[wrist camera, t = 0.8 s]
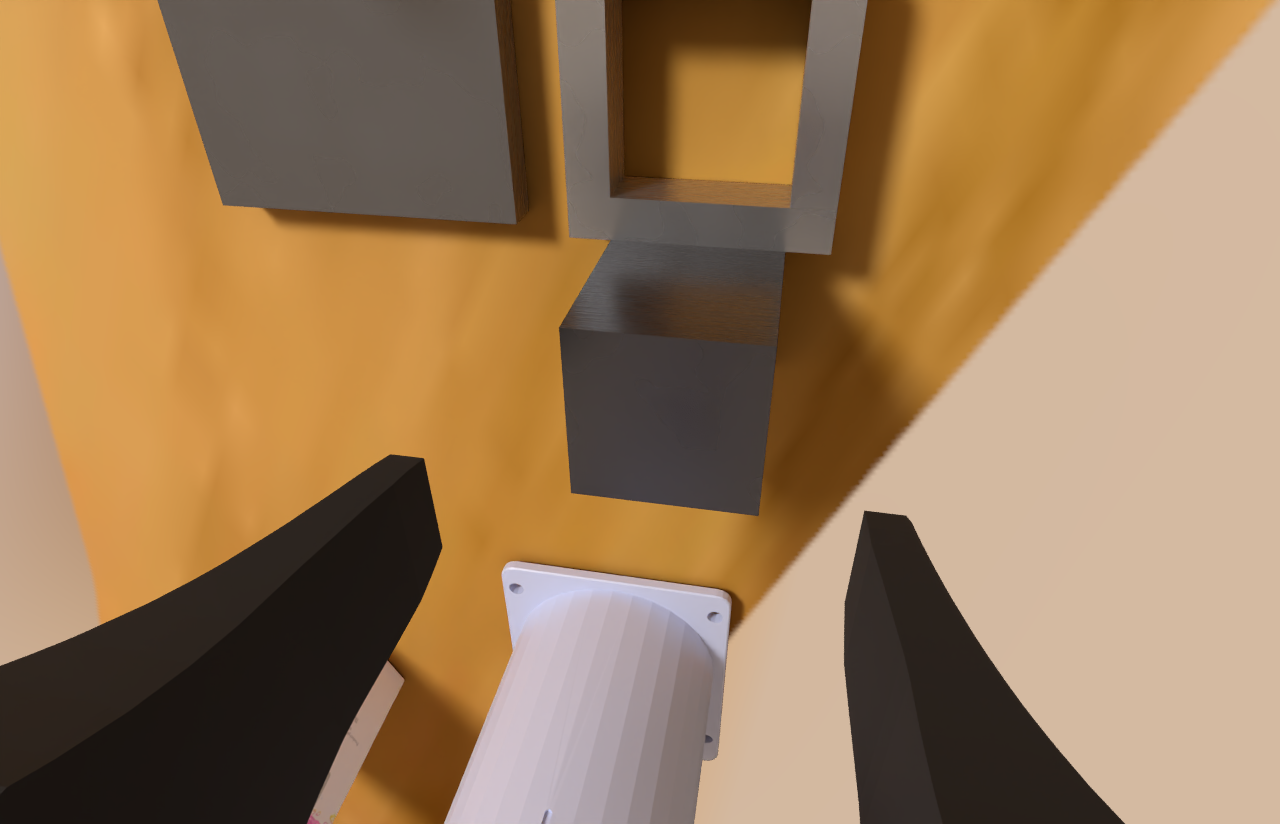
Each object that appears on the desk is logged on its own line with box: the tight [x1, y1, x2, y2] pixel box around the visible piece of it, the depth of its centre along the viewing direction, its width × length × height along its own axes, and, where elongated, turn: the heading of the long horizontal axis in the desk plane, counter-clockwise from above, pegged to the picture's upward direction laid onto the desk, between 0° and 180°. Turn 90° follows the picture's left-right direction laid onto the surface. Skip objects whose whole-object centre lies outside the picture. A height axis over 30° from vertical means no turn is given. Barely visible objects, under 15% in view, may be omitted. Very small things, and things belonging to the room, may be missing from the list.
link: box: [555, 0, 868, 516], centre depth 16 cm, size 10×6×6 cm, turn 0°
